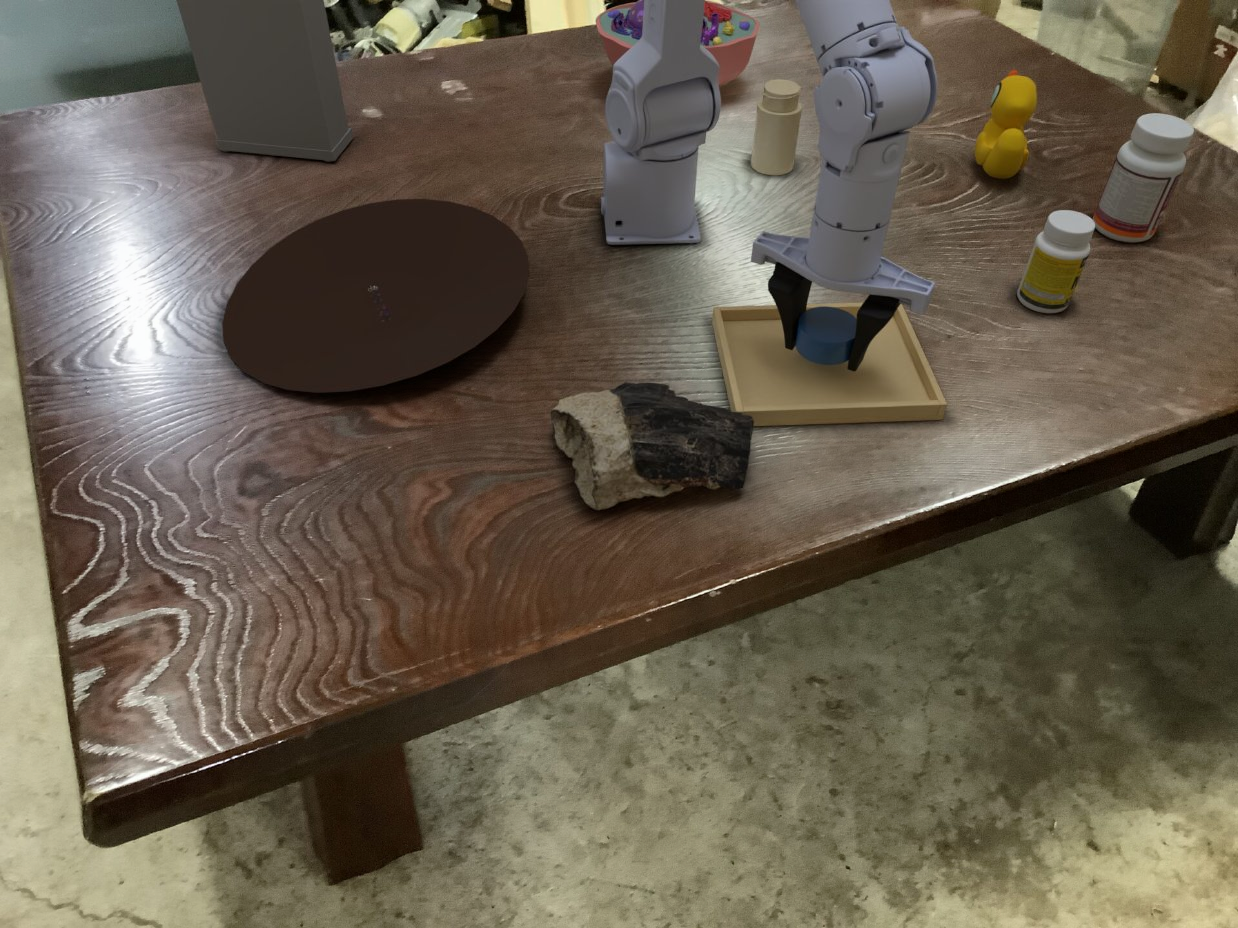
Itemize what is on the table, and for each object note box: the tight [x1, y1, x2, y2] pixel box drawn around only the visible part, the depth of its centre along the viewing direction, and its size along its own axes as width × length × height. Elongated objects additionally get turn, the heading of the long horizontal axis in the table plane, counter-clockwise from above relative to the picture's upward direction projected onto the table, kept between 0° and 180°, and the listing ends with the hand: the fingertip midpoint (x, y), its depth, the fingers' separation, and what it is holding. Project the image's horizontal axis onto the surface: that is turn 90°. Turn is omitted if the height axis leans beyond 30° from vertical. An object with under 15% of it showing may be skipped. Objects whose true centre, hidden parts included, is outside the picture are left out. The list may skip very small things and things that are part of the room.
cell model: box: [595, 0, 761, 88], centre depth 120 cm, size 17×20×11 cm
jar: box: [750, 78, 803, 176], centre depth 107 cm, size 5×5×9 cm
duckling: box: [974, 69, 1039, 180], centre depth 107 cm, size 11×5×10 cm, turn 168°
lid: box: [795, 306, 857, 365], centre depth 82 cm, size 5×5×2 cm
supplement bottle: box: [1016, 209, 1096, 314], centre depth 89 cm, size 5×5×8 cm
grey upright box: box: [176, 0, 355, 163], centre depth 104 cm, size 14×6×25 cm, turn 80°
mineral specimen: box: [550, 381, 755, 511], centre depth 75 cm, size 13×7×15 cm
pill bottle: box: [1092, 112, 1195, 243], centre depth 97 cm, size 6×6×11 cm
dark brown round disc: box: [221, 198, 530, 394], centre depth 89 cm, size 28×28×4 cm
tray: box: [711, 302, 948, 427], centre depth 84 cm, size 17×14×2 cm
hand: (823, 353), depth 84 cm, fingers closed on lid, 5 cm apart
